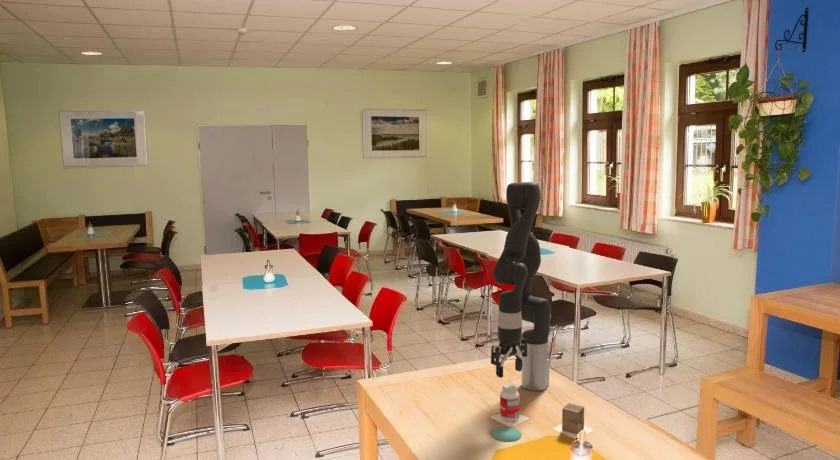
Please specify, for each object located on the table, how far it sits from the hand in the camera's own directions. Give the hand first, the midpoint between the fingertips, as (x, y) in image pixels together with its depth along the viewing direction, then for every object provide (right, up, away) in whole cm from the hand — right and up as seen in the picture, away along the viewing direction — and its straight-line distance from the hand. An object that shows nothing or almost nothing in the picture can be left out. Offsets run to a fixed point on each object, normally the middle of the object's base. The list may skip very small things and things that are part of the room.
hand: (509, 373), depth 190 cm
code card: (0, -15, +2) cm, 15 cm away
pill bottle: (0, -15, +2) cm, 15 cm away
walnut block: (+19, -16, -6) cm, 25 cm away
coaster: (-2, -17, -9) cm, 19 cm away
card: (+19, -16, -6) cm, 25 cm away
